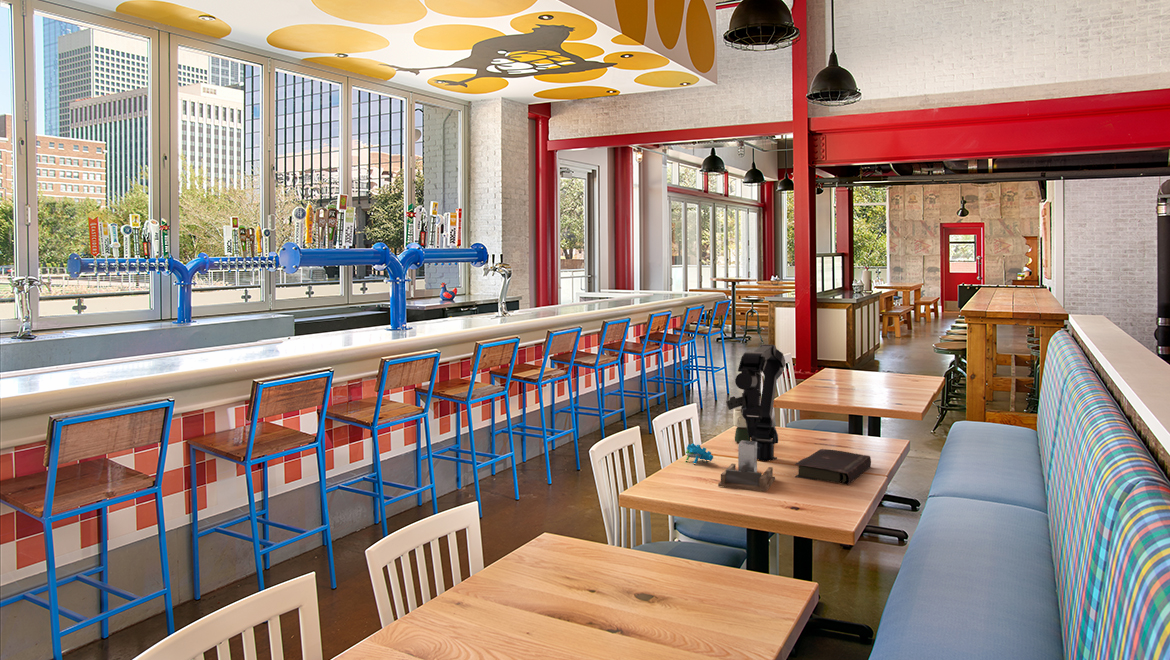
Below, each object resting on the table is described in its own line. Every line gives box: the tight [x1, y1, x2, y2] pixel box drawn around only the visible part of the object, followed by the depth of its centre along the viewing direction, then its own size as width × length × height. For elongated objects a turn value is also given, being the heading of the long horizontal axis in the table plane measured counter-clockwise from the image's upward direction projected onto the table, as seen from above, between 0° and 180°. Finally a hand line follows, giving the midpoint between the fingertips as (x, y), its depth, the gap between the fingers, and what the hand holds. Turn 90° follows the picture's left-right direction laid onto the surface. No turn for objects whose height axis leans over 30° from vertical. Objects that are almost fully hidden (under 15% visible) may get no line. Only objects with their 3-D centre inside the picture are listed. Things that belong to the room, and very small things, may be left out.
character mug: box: [732, 408, 751, 443], centre depth 298 cm, size 11×7×13 cm, turn 147°
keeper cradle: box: [717, 463, 776, 493], centre depth 244 cm, size 14×15×7 cm
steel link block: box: [737, 440, 758, 472], centre depth 245 cm, size 5×5×12 cm
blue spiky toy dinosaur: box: [685, 442, 714, 464], centre depth 269 cm, size 11×6×10 cm
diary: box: [794, 448, 872, 486], centre depth 255 cm, size 19×25×5 cm
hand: (750, 435), depth 257 cm, fingers open, 9 cm apart
